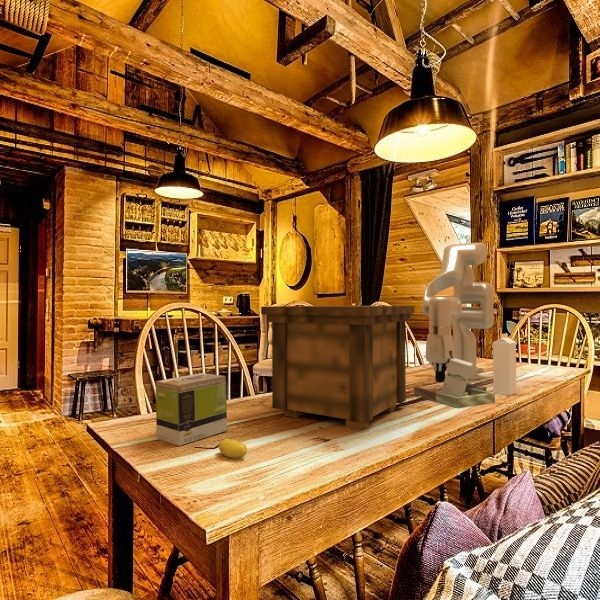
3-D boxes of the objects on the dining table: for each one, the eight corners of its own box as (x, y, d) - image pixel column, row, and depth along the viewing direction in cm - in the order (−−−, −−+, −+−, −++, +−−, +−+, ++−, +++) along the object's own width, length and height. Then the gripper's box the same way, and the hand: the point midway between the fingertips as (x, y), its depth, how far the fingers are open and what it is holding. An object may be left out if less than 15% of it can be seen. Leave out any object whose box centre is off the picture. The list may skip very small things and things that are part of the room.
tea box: (203, 425, 116) (203, 371, 116) (228, 432, 110) (227, 375, 110) (154, 438, 104) (154, 379, 104) (178, 447, 98) (178, 384, 98)
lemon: (228, 450, 96) (228, 433, 96) (251, 458, 91) (251, 440, 91) (213, 455, 93) (213, 437, 93) (236, 464, 88) (236, 445, 88)
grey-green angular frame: (460, 389, 162) (460, 381, 162) (507, 400, 143) (507, 391, 143) (413, 395, 152) (413, 387, 152) (457, 407, 133) (457, 398, 133)
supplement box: (440, 393, 146) (449, 359, 145) (443, 389, 153) (452, 356, 152) (462, 401, 143) (471, 365, 142) (464, 396, 150) (473, 362, 148)
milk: (516, 393, 155) (516, 333, 155) (509, 395, 151) (510, 334, 151) (499, 390, 159) (499, 332, 159) (492, 393, 155) (492, 333, 155)
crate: (261, 416, 124) (261, 306, 125) (321, 394, 154) (320, 305, 154) (370, 436, 105) (369, 306, 105) (415, 407, 134) (414, 305, 135)
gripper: (417, 330, 157) (418, 379, 156) (447, 332, 143) (447, 386, 143) (433, 329, 160) (433, 377, 160) (463, 331, 146) (464, 384, 146)
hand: (440, 381), depth 151 cm, fingers closed
